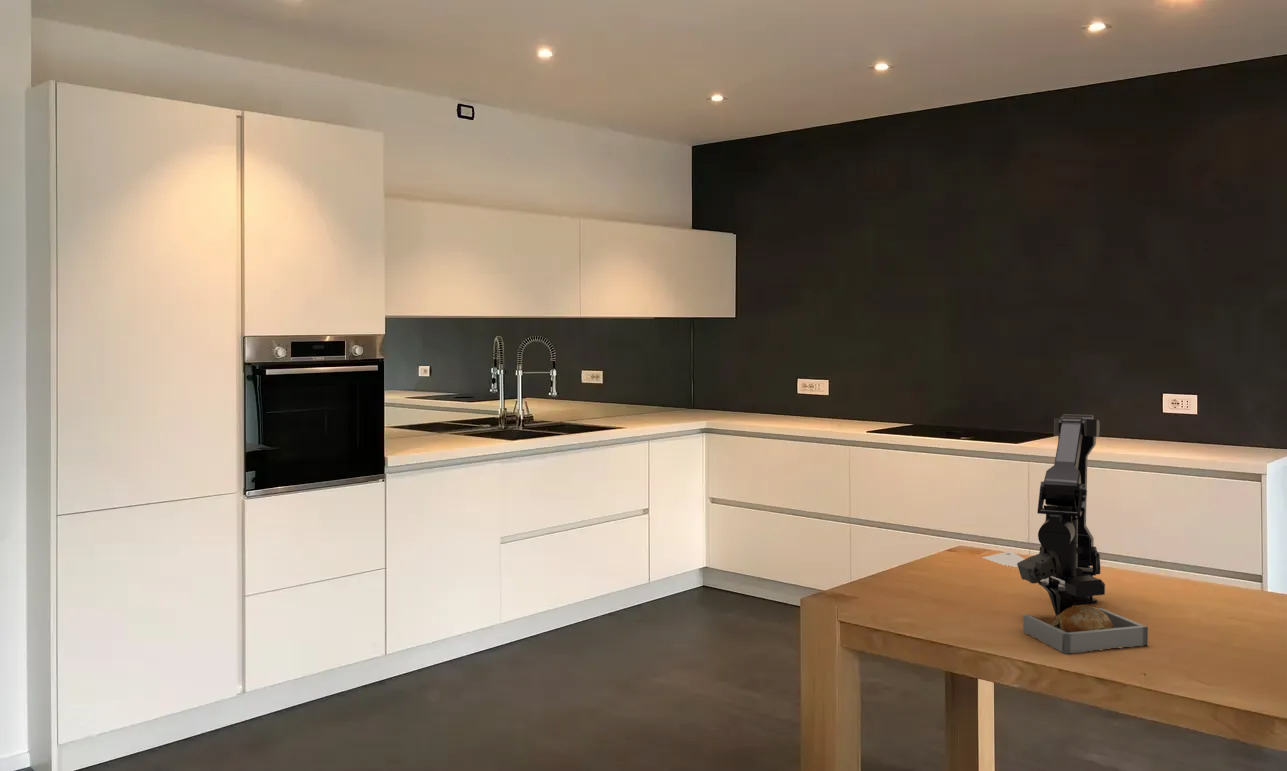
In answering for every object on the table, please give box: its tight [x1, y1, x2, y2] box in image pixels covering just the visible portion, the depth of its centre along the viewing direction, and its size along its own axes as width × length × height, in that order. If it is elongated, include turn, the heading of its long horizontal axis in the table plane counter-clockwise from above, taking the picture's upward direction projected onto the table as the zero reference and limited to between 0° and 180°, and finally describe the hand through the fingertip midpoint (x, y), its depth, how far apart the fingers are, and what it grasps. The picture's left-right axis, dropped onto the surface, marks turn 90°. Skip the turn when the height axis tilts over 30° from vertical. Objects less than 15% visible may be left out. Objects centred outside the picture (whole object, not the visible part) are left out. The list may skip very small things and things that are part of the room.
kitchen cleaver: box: [981, 551, 1026, 567], centre depth 244 cm, size 31×2×10 cm
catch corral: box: [1022, 607, 1149, 655], centre depth 192 cm, size 17×13×4 cm
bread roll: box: [1051, 604, 1114, 633], centre depth 192 cm, size 10×10×8 cm
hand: (1060, 620), depth 198 cm, fingers closed
